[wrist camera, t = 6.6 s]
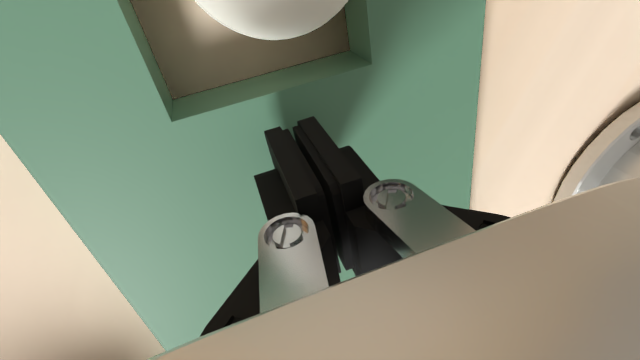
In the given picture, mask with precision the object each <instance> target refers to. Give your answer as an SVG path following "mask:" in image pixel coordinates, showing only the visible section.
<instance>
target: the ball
mask: <svg viewBox="0 0 640 360" xmlns="http://www.w3.org/2000/svg"><path fill="white" fill-rule="evenodd" d="M195 2H196V3H197V4H198V5H199V6H200V7H201V8H202V9H203V10H204V11H205V12H206V13H207V14H209V15H210V16H211V17H212V18H214V19H215V20H216V21H218V22H219V23H221V24H222V25H224V26H226V27H228V28H229V29H231V30H233V31H235V32H237V33H240V34H243V35H246V36H250V37H253V38H258V39H264V40H281V39H290V38H294V37H298V36H301V35H305V34H307V33H309V32H311V31H313V30H315V29H317V28H319V27H320V26H322V25H323V24H325V23H326V22H328V21H329V20H330V19H331V18H333V17H334V16H335V15H336V14H337V13H338V12H339V11H340V10H341V9H342V8H343V6H344V5H345V4H346V3H347V2H348V0H195Z"/></svg>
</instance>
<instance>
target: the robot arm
mask: <svg viewBox="0 0 640 360" xmlns="http://www.w3.org/2000/svg"><path fill="white" fill-rule="evenodd" d="M297 125H298V126H294V127H293V133H294V137H295V140H294V138H293V136H292V135H291V133H290V131H289V130H288V129H285V130H282V128H281V127H280V126H279V127H276V128H272V129H269V130H266V131H264V134H265V138H266V141H267V145H268V148H269V152H270V155H271V158H272V162H273V165H274V169H273V170H270V171H267V172H264V173H260V174H257V175H254V179H255V182H256V185H257V188H258V191H259V195H260V198H261V201H262V204H263V207H264V210H265V214H266V217H267V220H268V222H267V223H266V224H265V225H263V227H262V228H261V230H260V231H259V235H258V259H257V261H256V262H255V263H254V265H253V266H252V267H251V268H250V270H249V271H248V272H247V274H246V275H245V276H244V277H243V279H242V280H241V281H240V283H239V284H238V285H237V287H236V288H235V289H234V290H233V292H232V293H231V294H230V296H229V297H228V298H227V299H226V301H225V302H224V303H223V305H222V306H221V307H220V308H219V310H218V311H217V312H216V314H215V315H214V316H213V317H212V319H211V320H210V321H209V323H208V324H207V325H206V327H205V328H204V330H203V332H202V333H201V335H200V337H198V338H196V339H194V340H191V341H189V342H187V343H184V344H182V345H180V346H177V347H175V348H173V349H170V350H168V351H165V352H163V353H161V354H158V355H156V356H154V357H151V358H149V359H147V360H640V102H638V103H637V104H635V105H634V106H632V107H631V108H629V109H628V110H627V111H625V112H624V113H622V114H621V115H620V116H619V117H617V118H616V119H615V120H614V121H613V122H612V123H611V124H609V125H608V126H607V127H606V128H605V129H604V130H603V131H602V132H601V133H600V134H599V135H598V136H597V137H596V138H595V139H594V140H593V141H592V142H591V143H590V144H589V145H588V146H587V148H586V149H585V150H584V151H583V153H582V154H581V155H580V157H579V158H578V159H577V160H576V162H575V163H574V164H573V166H572V167H571V169H570V170H569V172H568V174H567V175H566V177H565V178H564V180H563V182H562V184H561V186H560V188H559V190H558V192H557V194H556V196H555V199H554V202H552V203H550V204H547V205H544V206H541V207H539V208H536V209H533V210H531V211H528V212H525V213H522V214H520V215H517V216H514V217H512V218H510V217H507V216H503V215H499V214H493V213H487V212H481V211H475V210H469V209H463V208H457V207H451V206H445V205H441V204H439V203H438V202H437V201H435V200H434V199H433V198H431V197H430V196H429V195H427V194H426V193H425V192H423V191H422V190H420V189H419V188H418V187H416V186H415V185H414V184H412V183H410V182H408V181H405V180H401V179H386V180H381V181H380V180H379V179H378V178H377V177H376V176H375V174H374V173H373V172H372V171H371V170H370V168H369V167H368V166H367V165H366V164H365V163H364V161H363V160H362V159H361V158H360V157H359V155H358V154H357V153H356V152H355V151H354V149H353V148H352V147H351V146H345V147H342V148H338V146H337V145H336V144H335V143H334V141H333V140H332V139H331V137H330V136H329V135H328V134H327V132H326V131H325V130H324V128H323V127H322V126H321V125H320V123H319V122H318V121H317V119H316V118H315V117H314V116H312V117H309V118H305V119H302V120H299V121H297ZM338 256H339V258H340V260H341V262H342V264H343V266H344V268H345V270H346V271H347V270H350V269H352V270H353V272H354V274H355V276H356V277H353V278H350V279H348V280H345V281H343V282H341V281H340V276H339V273H341V268H340V263H339V258H338Z"/></svg>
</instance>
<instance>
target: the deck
mask: <svg viewBox="0 0 640 360" xmlns="http://www.w3.org/2000/svg"><path fill="white" fill-rule="evenodd" d="M485 5H486V0H348V2H347V3H346V4H345V5H344V7H345V15H346V23H347V31H348V39H349V47H350V51H346V52H343V53H339V54H336V55H332V56H328V57H325V58H321V59H318V60H314V61H310V62H307V63H303V64H300V65H296V66H292V67H289V68H285V69H282V70H278V71H274V72H271V73H267V74H263V75H260V76H256V77H253V78H249V79H245V80H242V81H238V82H235V83H231V84H227V85H224V86H220V87H217V88H213V89H209V90H206V91H202V92H199V93H195V94H191V95H188V96H184V97H181V98H177V99H172V97H171V94H170V92H169V90H168V87H167V85H166V83H165V80H164V78H163V76H162V74H161V71H160V69H159V67H158V64H157V62H156V60H155V57H154V55H153V53H152V50H151V48H150V46H149V43H148V41H147V39H146V36H145V34H144V32H143V29H142V27H141V25H140V22H139V20H138V18H137V16H136V13H135V11H134V9H133V6H132V4H131V2H130V0H0V134H1V136H2V137H3V138H4V139H5V141H6V142H7V143H8V145H9V146H10V147H11V149H12V150H13V151H14V153H15V154H16V155H17V156H18V158H19V159H20V160H21V162H22V163H23V164H24V166H25V167H26V168H27V170H28V171H29V172H30V174H31V175H32V176H33V177H34V179H35V180H36V181H37V183H38V184H39V185H40V187H41V188H42V189H43V191H44V192H45V193H46V194H47V196H48V197H49V198H50V200H51V201H52V202H53V204H54V205H55V206H56V208H57V209H58V210H59V211H60V213H61V214H62V215H63V217H64V218H65V219H66V221H67V222H68V223H69V225H70V226H71V227H72V229H73V230H74V231H75V232H76V234H77V235H78V236H79V238H80V239H81V240H82V242H83V243H84V244H85V246H86V247H87V248H88V249H89V251H90V252H91V253H92V255H93V256H94V257H95V259H96V260H97V261H98V263H99V264H100V265H101V267H102V268H103V269H104V270H105V272H106V273H107V274H108V276H109V277H110V278H111V280H112V281H113V282H114V284H115V285H116V286H117V287H118V289H119V290H120V291H121V293H122V294H123V295H124V297H125V298H126V299H127V301H128V302H129V303H130V305H131V306H132V307H133V308H134V310H135V311H136V312H137V314H138V315H139V316H140V318H141V319H142V320H143V322H144V323H145V324H146V325H147V327H148V328H149V329H150V331H151V332H152V333H153V335H154V336H155V337H156V339H157V340H158V341H159V343H160V344H161V345H162V346H163V348H164V349H165V350H166V351H168V350H170V349H173V348H175V347H177V346H180V345H182V344H184V343H187V342H189V341H191V340H194V339H196V338H198V337H200V335H201V333H202V332H203V330H204V328H205V327H206V325H207V324H208V323H209V321H210V320H211V319H212V317H213V316H214V315H215V314H216V312H217V311H218V310H219V308H220V307H221V306H222V305H223V303H224V302H225V301H226V299H227V298H228V297H229V296H230V294H231V293H232V292H233V290H234V289H235V288H236V287H237V285H238V284H239V283H240V281H241V280H242V279H243V277H244V276H245V275H246V274H247V272H248V271H249V270H250V268H251V267H252V266H253V265H254V263H255V262H256V261H257V259H258V235H259V231H260V230H261V228H262V227H263V225H265V224H266V223H267V222H268V220H267V217H266V214H265V210H264V207H263V204H262V201H261V198H260V195H259V191H258V188H257V185H256V182H255V179H254V175H257V174H260V173H264V172H267V171H270V170H273V169H274V165H273V162H272V158H271V155H270V152H269V148H268V145H267V141H266V138H265V134H264V131H266V130H269V129H272V128H276V127H279V126H280V127H281V128H282V130H285V129H288V130H289V131H290V133H291V135H292V136H293V138H294V140H295V137H294V133H293V127H294V126H298V125H297V121H299V120H302V119H305V118H309V117H312V116H314V117H315V118H316V119H317V121H318V122H319V123H320V125H321V126H322V127H323V128H324V130H325V131H326V132H327V134H328V135H329V136H330V137H331V139H332V140H333V141H334V143H335V144H336V145H337V146H338V148H342V147H345V146H351V147H352V148H353V149H354V151H355V152H356V153H357V154H358V155H359V157H360V158H361V159H362V160H363V161H364V163H365V164H366V165H367V166H368V167H369V168H370V170H371V171H372V172H373V173H374V174H375V176H376V177H377V178H378V179H379V180H380V181H381V180H386V179H401V180H405V181H408V182H410V183H412V184H414V185H415V186H416V187H418V188H419V189H420V190H422V191H423V192H425V193H426V194H427V195H429V196H430V197H431V198H433V199H434V200H435V201H437V202H438V203H439V204H441V205H445V206H451V207H457V208H463V209H469V206H470V193H471V180H472V168H473V155H474V143H475V130H476V118H477V105H478V93H479V80H480V67H481V55H482V42H483V30H484V17H485ZM338 258H339V256H338ZM339 263H340V268H341V273H339V276H340V281H341V282H343V281H345V280H348V279H350V278H353V277H356V276H355V274H354V272H353V270H352V269H350V270H347V271H346V270H345V268H344V266H343V264H342V262H341V260H340V258H339Z"/></svg>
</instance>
